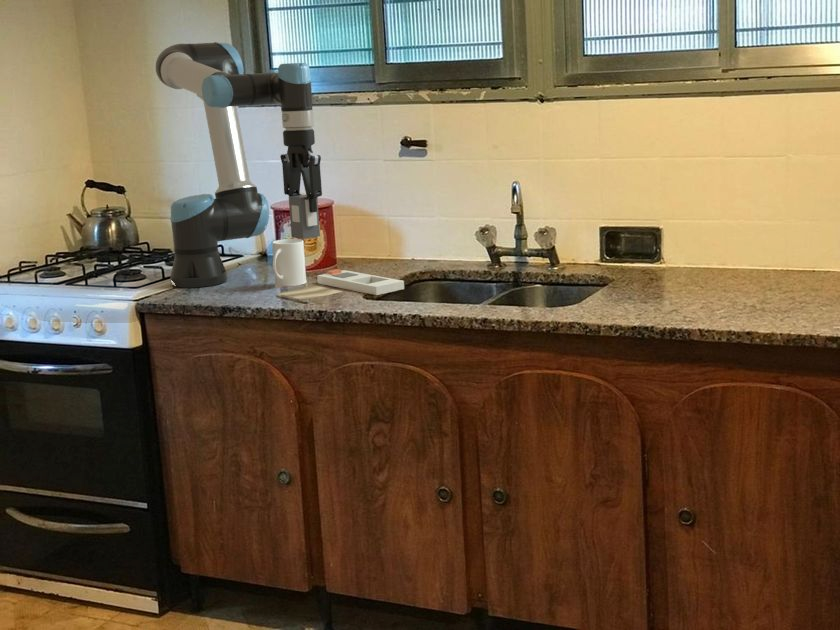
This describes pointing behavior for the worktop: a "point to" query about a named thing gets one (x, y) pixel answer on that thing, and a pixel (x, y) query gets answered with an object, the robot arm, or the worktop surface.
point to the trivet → (307, 293)
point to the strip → (360, 282)
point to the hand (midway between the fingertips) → (305, 224)
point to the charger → (301, 219)
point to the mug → (289, 262)
